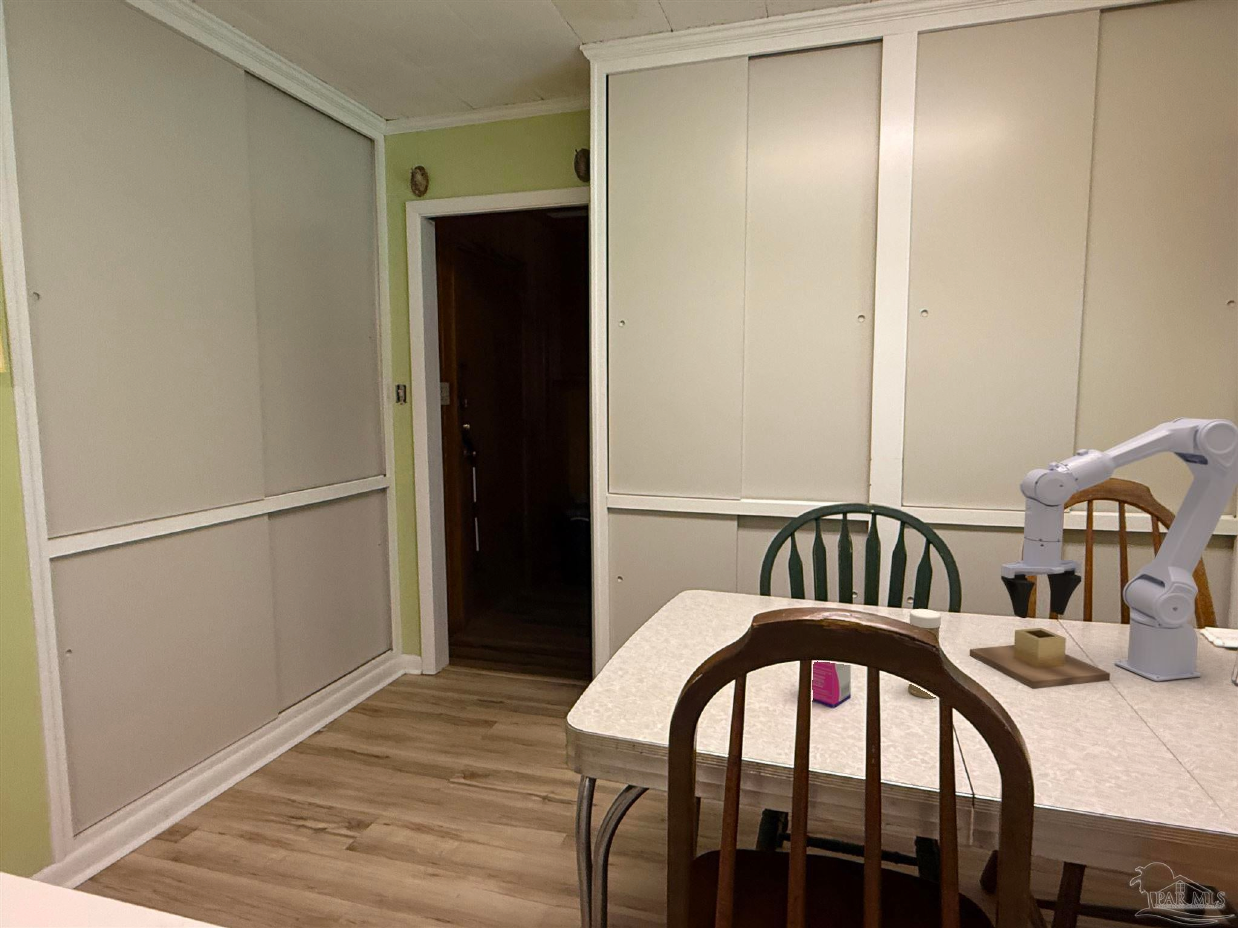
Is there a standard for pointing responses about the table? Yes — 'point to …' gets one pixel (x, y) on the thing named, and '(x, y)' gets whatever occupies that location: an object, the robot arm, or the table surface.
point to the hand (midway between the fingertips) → (1039, 614)
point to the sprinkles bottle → (929, 622)
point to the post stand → (1042, 677)
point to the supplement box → (831, 683)
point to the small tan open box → (1039, 648)
